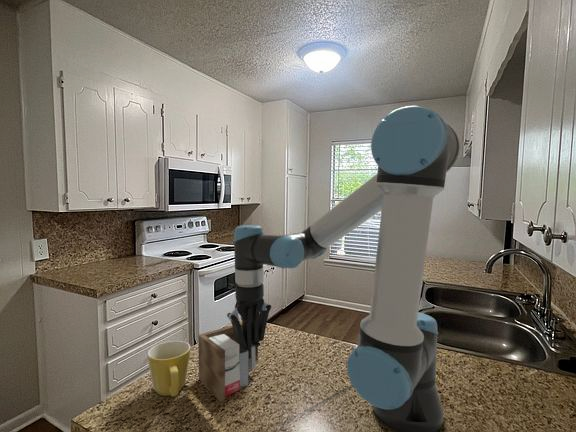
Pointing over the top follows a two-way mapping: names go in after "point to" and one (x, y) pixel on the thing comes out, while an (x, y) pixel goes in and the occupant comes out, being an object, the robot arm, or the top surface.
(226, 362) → the ink box
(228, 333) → the wooden corner frame
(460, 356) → the top surface
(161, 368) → the mug
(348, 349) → the top surface
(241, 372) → the bookend
